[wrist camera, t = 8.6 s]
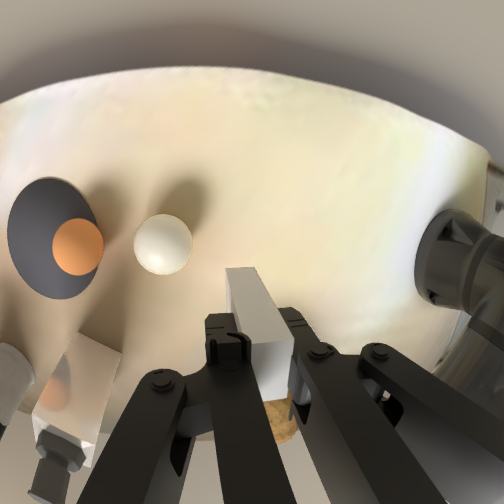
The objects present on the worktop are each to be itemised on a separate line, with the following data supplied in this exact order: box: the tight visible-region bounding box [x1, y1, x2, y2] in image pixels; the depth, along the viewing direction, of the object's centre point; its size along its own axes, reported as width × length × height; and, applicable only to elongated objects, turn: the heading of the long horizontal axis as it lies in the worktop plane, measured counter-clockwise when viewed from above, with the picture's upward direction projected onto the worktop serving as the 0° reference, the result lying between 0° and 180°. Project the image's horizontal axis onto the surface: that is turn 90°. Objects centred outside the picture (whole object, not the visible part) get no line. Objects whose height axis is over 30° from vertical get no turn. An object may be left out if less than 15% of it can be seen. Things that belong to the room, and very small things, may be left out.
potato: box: [263, 389, 298, 444], centre depth 30 cm, size 10×14×8 cm
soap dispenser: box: [28, 332, 122, 504], centre depth 19 cm, size 6×9×22 cm
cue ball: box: [134, 214, 193, 275], centre depth 24 cm, size 6×6×6 cm
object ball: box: [52, 218, 104, 275], centre depth 22 cm, size 6×6×6 cm
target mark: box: [7, 179, 98, 299], centre depth 24 cm, size 14×14×1 cm
